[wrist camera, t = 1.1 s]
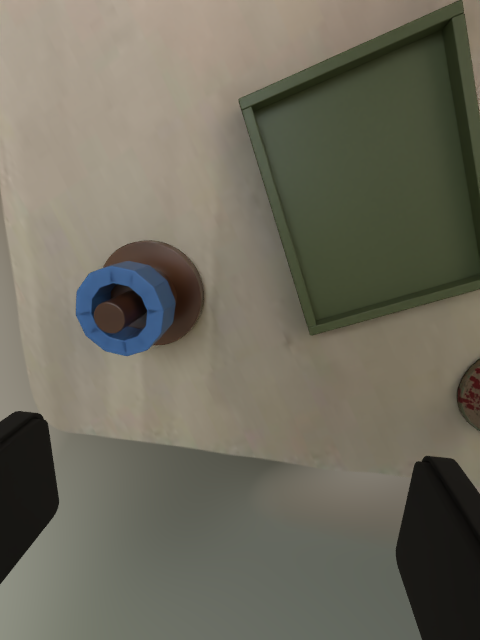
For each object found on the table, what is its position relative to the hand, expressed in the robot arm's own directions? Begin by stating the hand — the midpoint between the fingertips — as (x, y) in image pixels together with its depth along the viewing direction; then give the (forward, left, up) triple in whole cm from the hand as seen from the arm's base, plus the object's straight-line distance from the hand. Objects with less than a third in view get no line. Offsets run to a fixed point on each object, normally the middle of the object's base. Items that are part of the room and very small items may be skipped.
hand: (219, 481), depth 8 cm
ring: (-3, -10, -19) cm, 22 cm away
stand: (-3, -10, -24) cm, 26 cm away
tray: (-5, +11, -24) cm, 26 cm away
